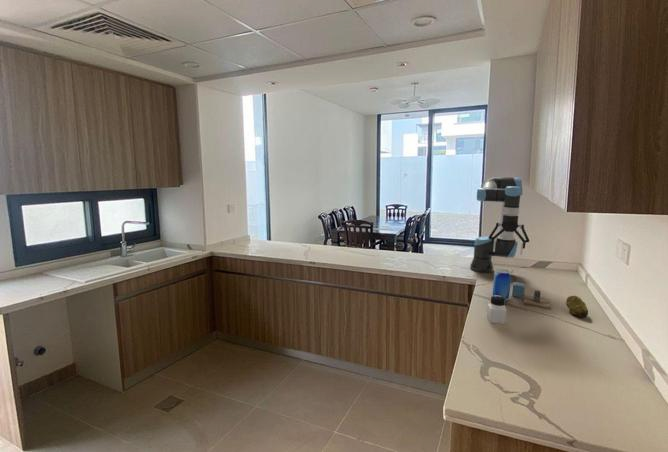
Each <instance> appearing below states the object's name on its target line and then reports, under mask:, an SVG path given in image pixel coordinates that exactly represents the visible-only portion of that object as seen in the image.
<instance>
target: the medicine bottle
mask: <svg viewBox="0 0 668 452" xmlns="http://www.w3.org/2000/svg"><path fill="white" fill-rule="evenodd" d="M505 302H506V301H505V299H504V298H503V297H501V296H497V295H495V296H493V295H492V296H491V297H490V302H489V303H487V309H486V311H487V312H486V318H487V319H488V321H489V323H490V324H500V325H501V324H502V325H506V323H507V313H508V312H507V308H506V307H505Z"/></svg>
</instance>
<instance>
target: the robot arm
mask: <svg viewBox="0 0 668 452" xmlns="http://www.w3.org/2000/svg"><path fill="white" fill-rule="evenodd" d="M476 190H477V191H476V201H478V202H496V203H498V202H499V203H501V211H500V222H495V223H496V224H495V227H494V228H493V229H492V232H490V234H489V235H486V236H484V235H483V236H478V237H476V238H475V240H474V244H473V246H474V249H473V259H472V261H471V263H470V265H469V268H470V270H472V271H474V272H479V273H491V272H494V265H493V261H492V257H496V258H497V257H498V258H506V259H507V258H510V259H511V258H512V259H513V258H514V257H515V255H516V253H517V249H518V243H519V242H518V241H517V239H516V238H515V236H514V233H515V235H517V237H518V238H519V239H520V241H521V243H520V255H521V256H522V255H523V250H524V249H526V243H530V239H529V236H528V234H527V232H526V230H525V225H524V224H519V216H518V215H519V213H520V203H521V197H522V196H523V181H522V179H521V178H520V177H515V176H514V177H512V176H511V177H509V176H508V177H503V176H501V177H500V176H495V177H490V178H487V179H486V180H484V181H483V182H482V183H481V186H480V187H478V188H477V189H476ZM498 228H499V231H498V232H497V233H496V234H495V232H496V231H497V230H498ZM518 228H519V229H521V232H522V234H523V236H522V235H521V233H519V231H518ZM494 234H495V235H494Z"/></svg>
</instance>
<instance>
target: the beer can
mask: <svg viewBox="0 0 668 452" xmlns="http://www.w3.org/2000/svg"><path fill="white" fill-rule="evenodd" d="M511 280H512V275H511V272H510V271H509V270H507V269H503V268H502V269H500V268H498V269H496V271H495V273H493V285H492V286H493V287H492V296H495V295H497V296H501V297H503V298H504V299H505V302H506V301H508V300H509V298H510V292H511V291H510V290H511Z"/></svg>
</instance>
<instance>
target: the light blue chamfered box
mask: <svg viewBox="0 0 668 452" xmlns="http://www.w3.org/2000/svg"><path fill="white" fill-rule="evenodd" d="M524 293H525V283H524V282H516V281H513V282H512V292H511V296H512V297H518V298H524V296H525V294H524Z"/></svg>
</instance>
